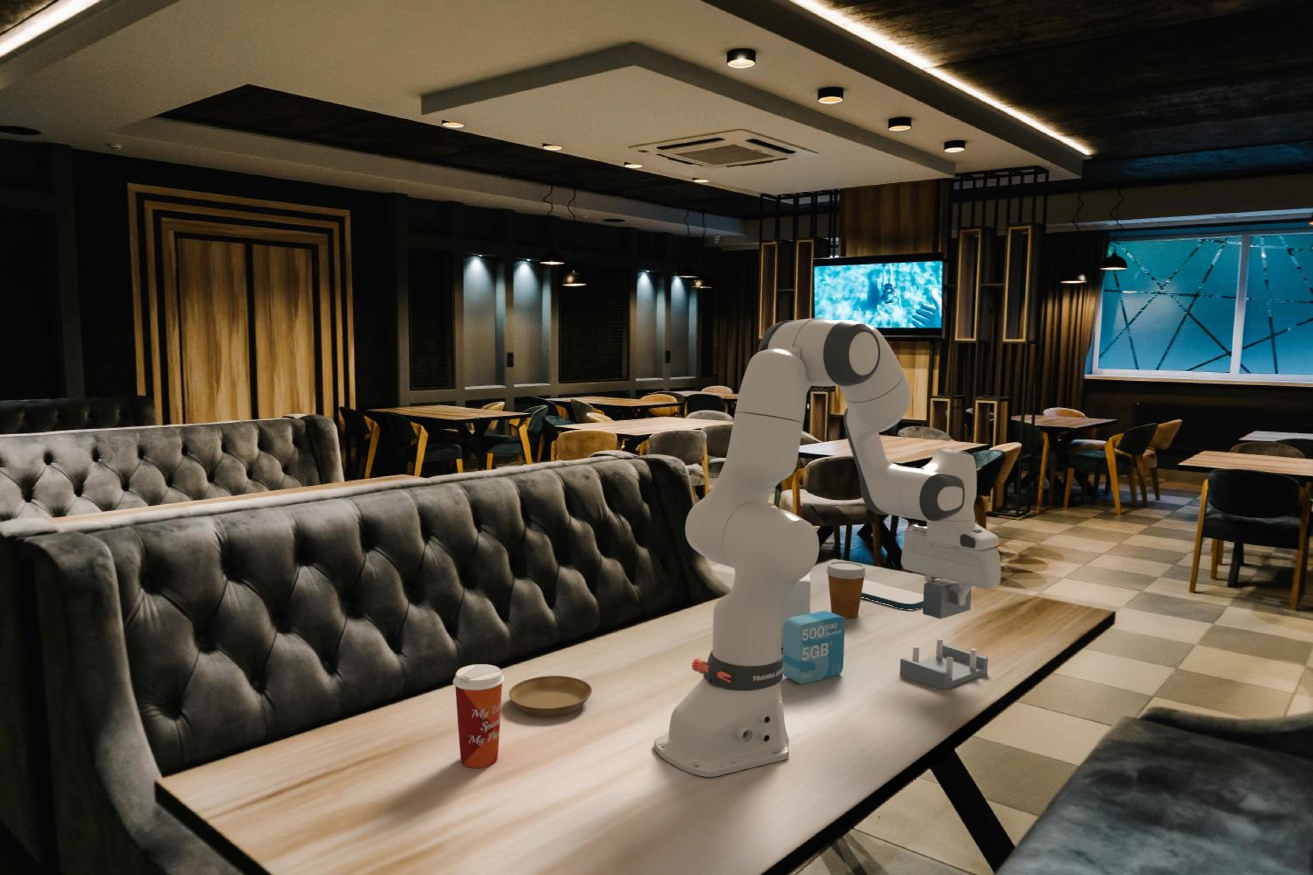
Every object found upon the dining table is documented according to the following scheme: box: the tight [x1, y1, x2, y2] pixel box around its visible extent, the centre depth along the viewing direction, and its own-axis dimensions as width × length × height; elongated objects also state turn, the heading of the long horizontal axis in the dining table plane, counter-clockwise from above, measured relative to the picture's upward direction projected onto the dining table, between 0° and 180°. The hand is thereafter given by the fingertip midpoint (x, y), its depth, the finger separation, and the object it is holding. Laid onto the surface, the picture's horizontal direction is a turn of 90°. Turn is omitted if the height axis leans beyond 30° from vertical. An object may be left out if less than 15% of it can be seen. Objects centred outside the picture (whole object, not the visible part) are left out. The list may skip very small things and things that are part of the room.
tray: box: [899, 638, 989, 691], centre depth 174 cm, size 15×10×5 cm
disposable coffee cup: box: [825, 560, 867, 619], centre depth 212 cm, size 10×10×12 cm
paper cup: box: [452, 663, 505, 769], centre depth 135 cm, size 8×8×14 cm
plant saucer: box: [508, 675, 593, 717], centre depth 157 cm, size 15×15×3 cm
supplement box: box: [781, 571, 812, 649], centre depth 191 cm, size 9×9×15 cm
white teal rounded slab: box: [861, 579, 924, 610], centre depth 228 cm, size 24×12×2 cm, turn 40°
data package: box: [782, 610, 846, 685], centre depth 171 cm, size 12×4×12 cm, turn 122°
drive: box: [922, 578, 972, 620], centre depth 173 cm, size 10×4×6 cm, turn 128°
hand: (947, 601), depth 173 cm, fingers closed on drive, 4 cm apart
